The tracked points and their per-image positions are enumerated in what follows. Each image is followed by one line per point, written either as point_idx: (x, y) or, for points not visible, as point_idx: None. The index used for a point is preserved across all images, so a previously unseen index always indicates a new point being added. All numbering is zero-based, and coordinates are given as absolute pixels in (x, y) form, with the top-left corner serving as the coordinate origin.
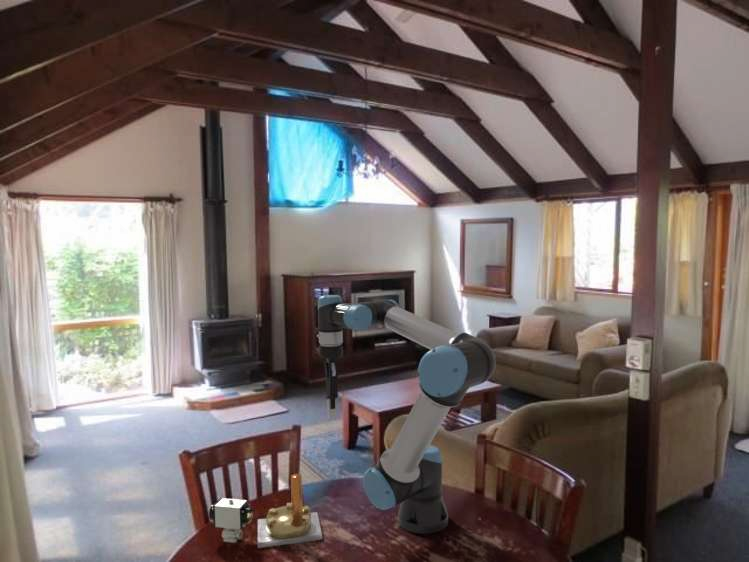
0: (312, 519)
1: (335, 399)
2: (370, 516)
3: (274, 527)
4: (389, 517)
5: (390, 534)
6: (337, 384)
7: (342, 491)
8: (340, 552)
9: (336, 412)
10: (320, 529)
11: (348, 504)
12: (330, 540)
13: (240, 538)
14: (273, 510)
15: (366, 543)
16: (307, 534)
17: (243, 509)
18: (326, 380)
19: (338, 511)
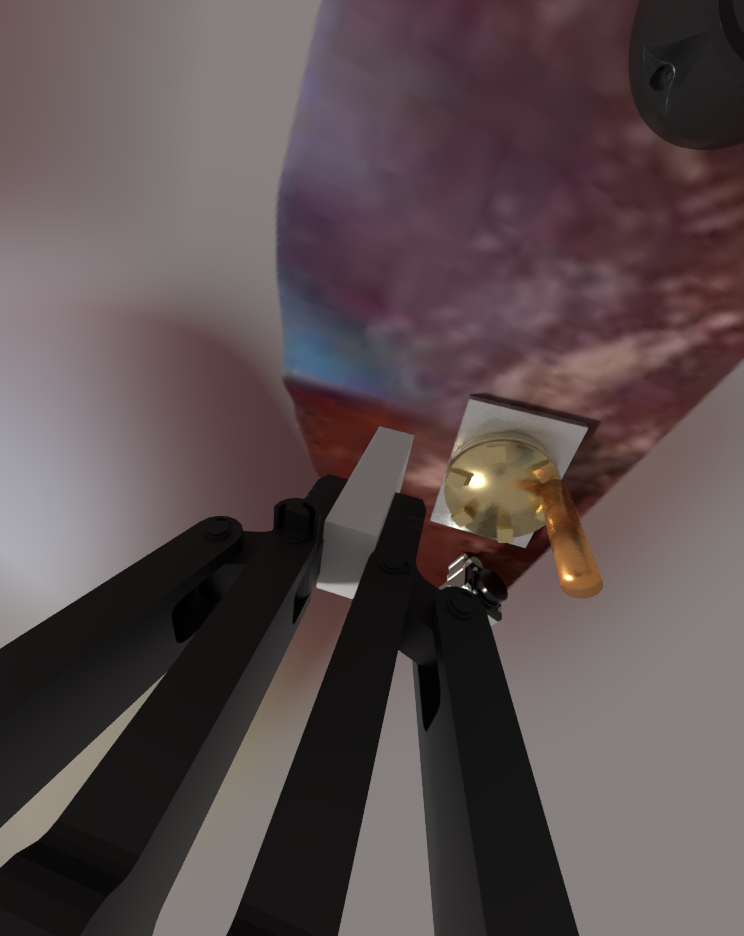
0: (500, 422)
1: (380, 535)
2: (563, 240)
3: (529, 532)
4: (617, 168)
5: (721, 217)
6: (560, 878)
7: (360, 270)
8: (679, 405)
9: (406, 458)
10: (562, 423)
11: (449, 283)
12: (604, 406)
13: (477, 558)
14: (465, 519)
15: (699, 321)
16: (563, 457)
17: (494, 608)
18: (115, 717)
19: (473, 330)
